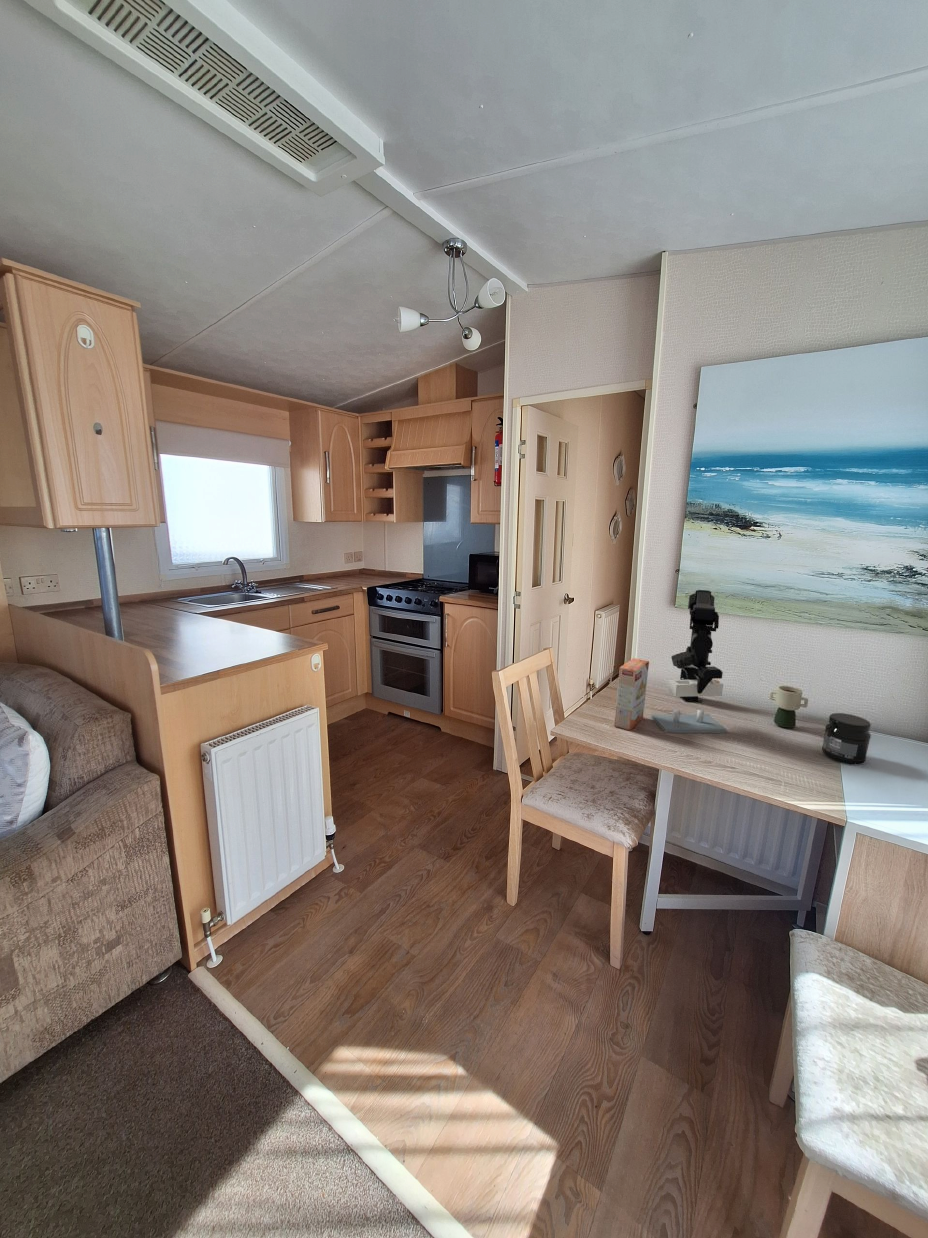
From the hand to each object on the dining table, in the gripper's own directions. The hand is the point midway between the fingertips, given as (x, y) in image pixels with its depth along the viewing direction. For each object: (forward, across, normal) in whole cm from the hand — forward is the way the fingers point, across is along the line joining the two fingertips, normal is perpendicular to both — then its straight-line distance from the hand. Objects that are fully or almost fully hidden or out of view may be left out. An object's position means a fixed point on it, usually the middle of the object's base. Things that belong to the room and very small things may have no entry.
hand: (694, 690), depth 163 cm
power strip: (+1, 0, 0) cm, 1 cm away
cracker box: (+12, -4, -20) cm, 24 cm away
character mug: (+12, +2, +32) cm, 34 cm away
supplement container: (+12, +24, +33) cm, 43 cm away
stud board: (+12, 0, -1) cm, 12 cm away
